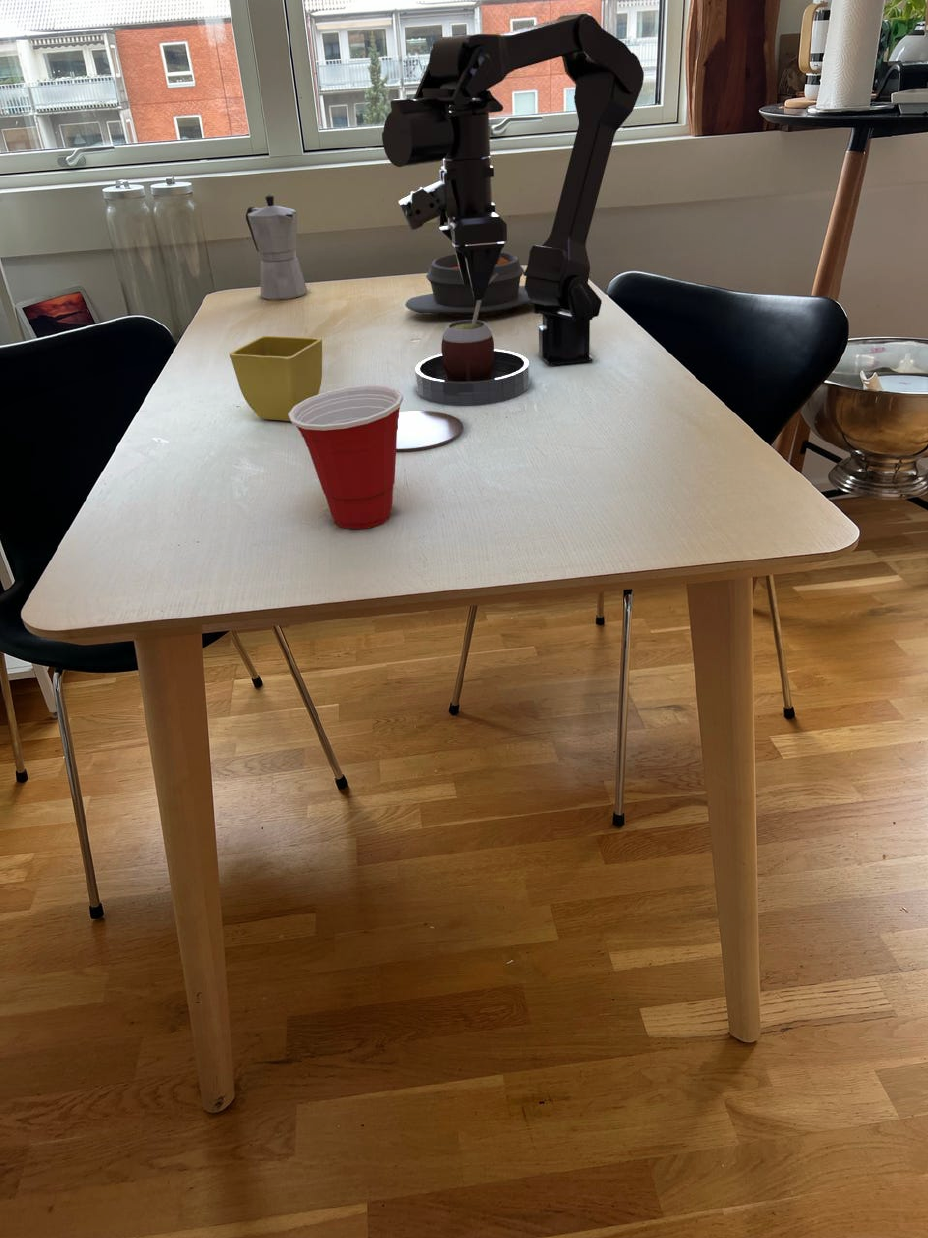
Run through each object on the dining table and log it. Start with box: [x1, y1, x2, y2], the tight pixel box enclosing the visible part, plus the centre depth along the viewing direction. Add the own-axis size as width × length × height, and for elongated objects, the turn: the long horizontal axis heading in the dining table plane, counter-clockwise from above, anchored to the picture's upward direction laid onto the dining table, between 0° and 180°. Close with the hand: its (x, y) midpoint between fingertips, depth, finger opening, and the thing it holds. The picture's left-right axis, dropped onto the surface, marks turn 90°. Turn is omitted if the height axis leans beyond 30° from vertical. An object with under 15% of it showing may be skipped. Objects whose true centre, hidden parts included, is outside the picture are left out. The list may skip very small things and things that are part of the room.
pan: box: [414, 349, 530, 407], centre depth 126 cm, size 15×15×3 cm
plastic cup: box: [288, 384, 404, 530], centre depth 90 cm, size 11×11×12 cm
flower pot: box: [229, 335, 323, 422], centre depth 119 cm, size 9×9×9 cm
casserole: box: [404, 252, 531, 318], centre depth 162 cm, size 25×19×8 cm
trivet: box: [396, 410, 464, 453], centre depth 113 cm, size 13×13×1 cm
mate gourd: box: [440, 273, 498, 382], centre depth 123 cm, size 8×8×15 cm
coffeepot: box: [245, 194, 308, 301], centre depth 180 cm, size 15×9×18 cm, turn 44°
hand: (473, 292), depth 120 cm, fingers open, 9 cm apart
